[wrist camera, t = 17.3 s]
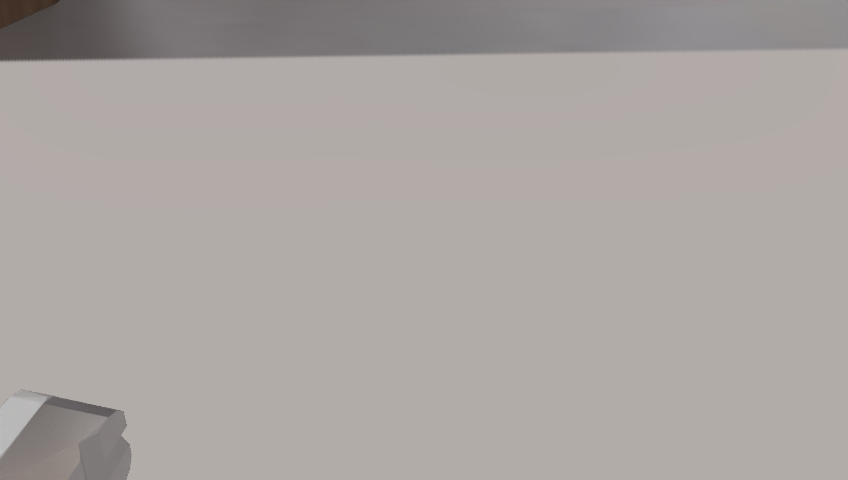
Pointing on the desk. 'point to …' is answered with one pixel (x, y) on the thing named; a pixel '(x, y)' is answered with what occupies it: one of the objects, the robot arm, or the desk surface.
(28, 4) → the pedestal
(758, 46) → the desk surface
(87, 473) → the robot arm
